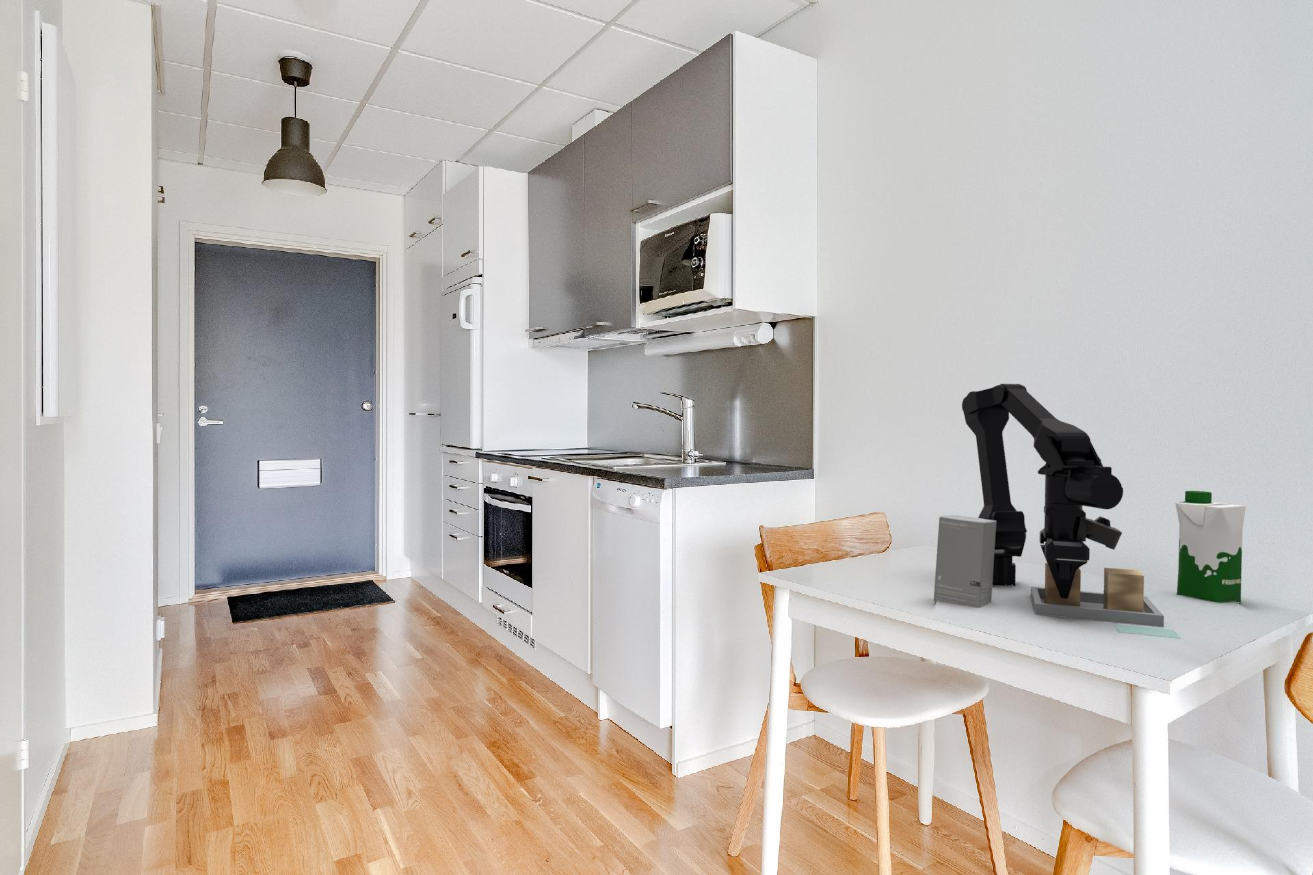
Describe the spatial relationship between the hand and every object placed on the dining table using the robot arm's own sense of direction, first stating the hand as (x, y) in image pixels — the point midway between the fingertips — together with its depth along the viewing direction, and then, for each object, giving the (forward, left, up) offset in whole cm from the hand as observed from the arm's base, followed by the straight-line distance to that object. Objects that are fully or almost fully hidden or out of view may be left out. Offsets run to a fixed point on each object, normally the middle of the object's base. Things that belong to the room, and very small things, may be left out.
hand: (1061, 592), depth 128 cm
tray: (+4, 0, -3) cm, 6 cm away
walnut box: (0, 0, -2) cm, 3 cm away
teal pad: (+10, -11, -3) cm, 16 cm away
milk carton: (+25, +21, -4) cm, 33 cm away
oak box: (+9, 0, -2) cm, 9 cm away
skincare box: (-16, -2, -4) cm, 16 cm away
